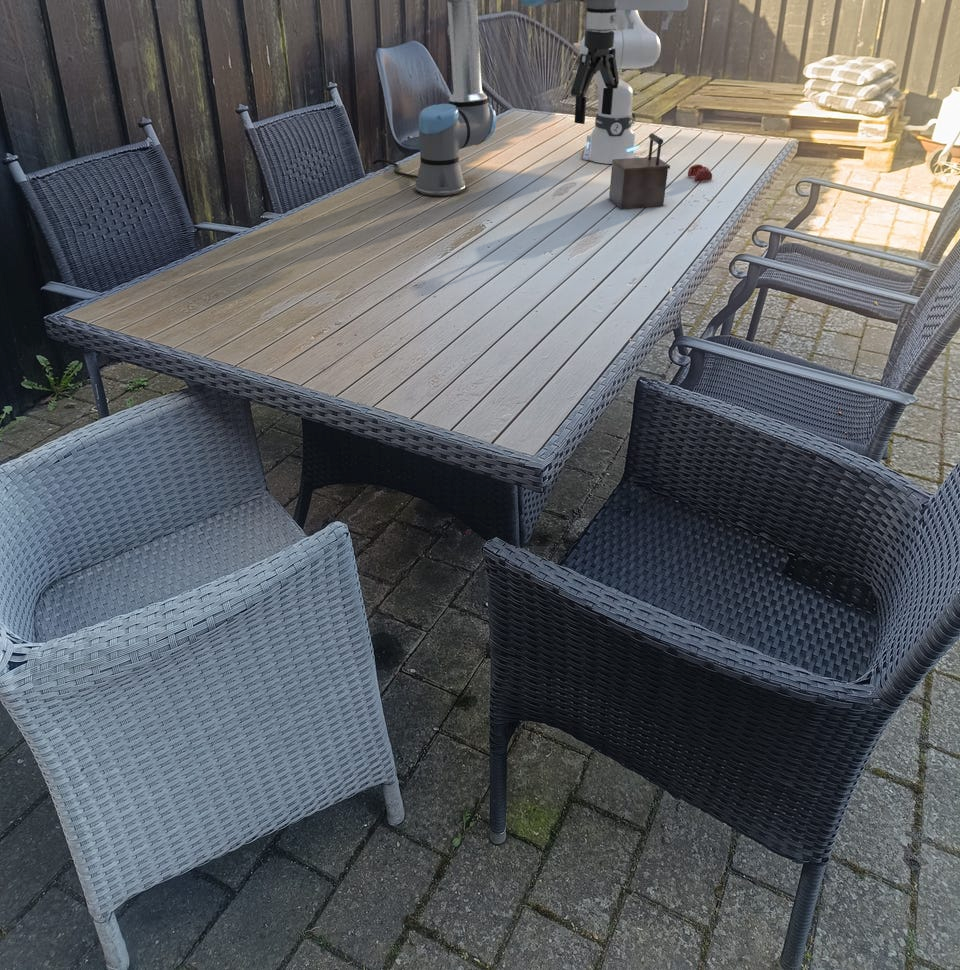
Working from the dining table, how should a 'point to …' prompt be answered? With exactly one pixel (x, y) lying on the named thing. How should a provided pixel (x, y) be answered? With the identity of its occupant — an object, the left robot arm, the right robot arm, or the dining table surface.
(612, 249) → the dining table surface
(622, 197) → the chest
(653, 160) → the lid
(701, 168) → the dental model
